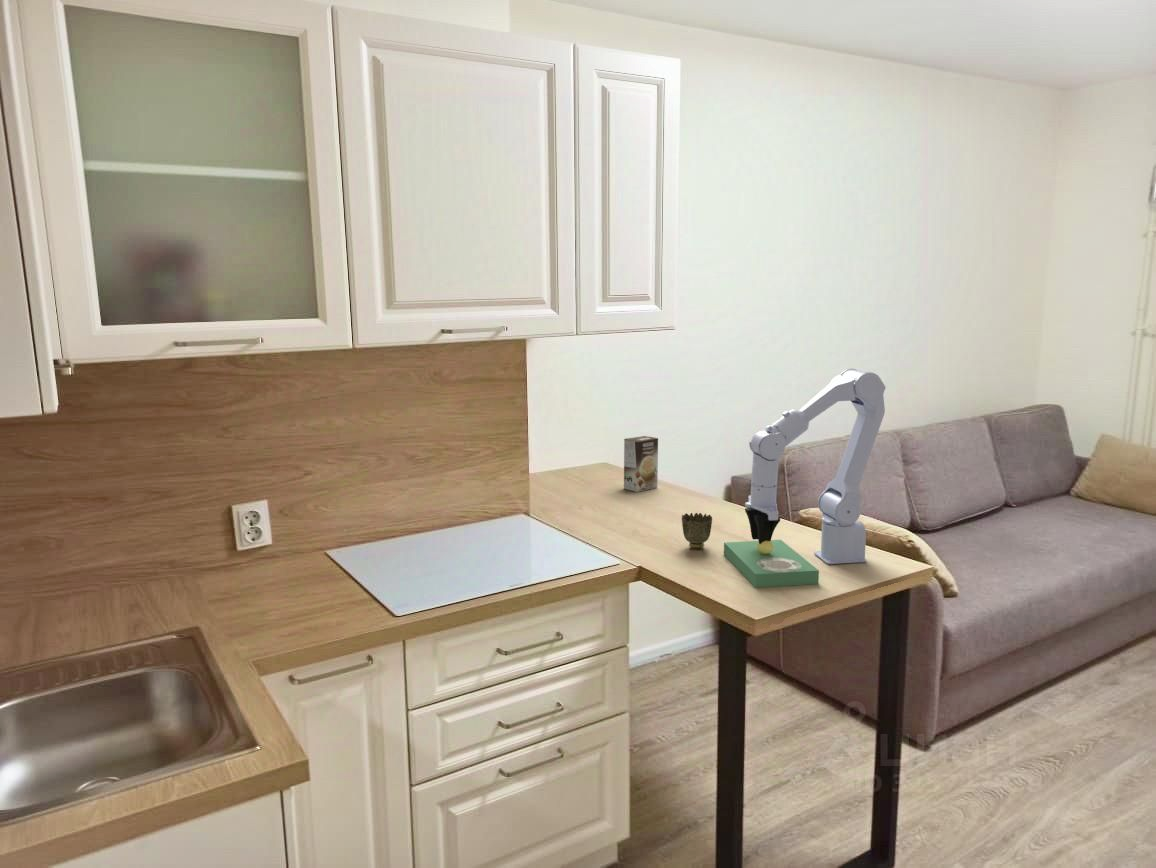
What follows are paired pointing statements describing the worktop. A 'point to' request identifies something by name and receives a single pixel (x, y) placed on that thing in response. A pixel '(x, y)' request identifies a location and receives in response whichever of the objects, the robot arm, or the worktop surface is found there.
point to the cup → (696, 529)
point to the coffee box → (640, 463)
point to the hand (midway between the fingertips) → (760, 542)
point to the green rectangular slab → (771, 564)
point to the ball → (765, 547)
